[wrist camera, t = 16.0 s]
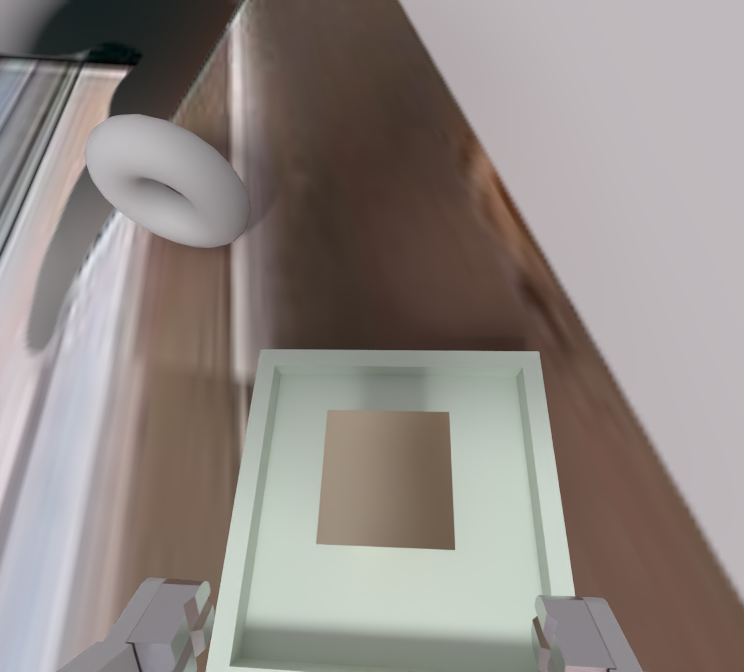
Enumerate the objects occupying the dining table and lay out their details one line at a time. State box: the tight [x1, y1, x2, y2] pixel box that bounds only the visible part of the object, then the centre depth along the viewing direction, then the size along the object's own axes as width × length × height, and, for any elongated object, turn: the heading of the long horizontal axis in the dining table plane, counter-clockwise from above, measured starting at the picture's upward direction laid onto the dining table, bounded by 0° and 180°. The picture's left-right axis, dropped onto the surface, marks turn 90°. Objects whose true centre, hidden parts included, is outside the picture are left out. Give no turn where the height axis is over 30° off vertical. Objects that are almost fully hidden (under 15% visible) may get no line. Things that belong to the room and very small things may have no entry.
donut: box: [85, 114, 251, 248], centre depth 27 cm, size 10×4×10 cm, turn 77°
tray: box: [206, 349, 575, 672], centre depth 22 cm, size 16×16×2 cm
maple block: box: [316, 410, 455, 550], centre depth 17 cm, size 4×4×10 cm
